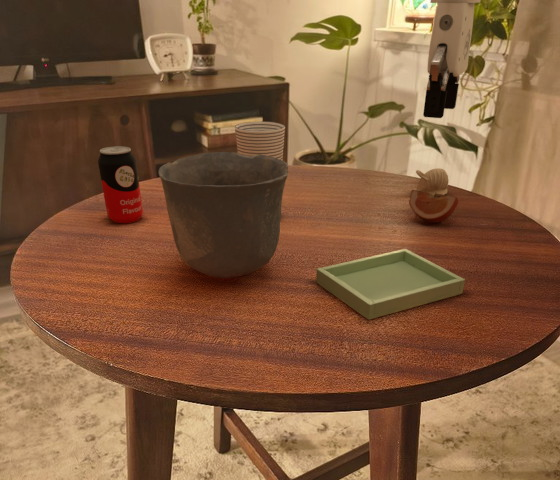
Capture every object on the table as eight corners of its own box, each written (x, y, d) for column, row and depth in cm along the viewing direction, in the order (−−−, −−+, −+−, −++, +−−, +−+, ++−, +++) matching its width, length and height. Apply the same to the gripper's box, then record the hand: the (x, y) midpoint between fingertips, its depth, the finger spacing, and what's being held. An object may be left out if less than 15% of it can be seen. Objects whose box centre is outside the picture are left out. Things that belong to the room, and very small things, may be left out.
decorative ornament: (452, 196, 113) (457, 168, 110) (416, 200, 111) (420, 172, 108) (441, 190, 116) (445, 163, 113) (406, 194, 114) (409, 167, 111)
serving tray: (403, 261, 85) (405, 248, 84) (462, 293, 76) (465, 279, 75) (316, 282, 79) (316, 268, 78) (368, 320, 70) (369, 304, 69)
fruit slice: (401, 220, 101) (404, 192, 98) (417, 210, 105) (421, 183, 103) (444, 230, 97) (449, 201, 94) (460, 219, 101) (465, 191, 98)
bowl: (316, 273, 82) (320, 167, 74) (223, 313, 72) (215, 195, 63) (237, 241, 92) (232, 145, 84) (145, 272, 82) (130, 166, 74)
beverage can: (103, 224, 100) (90, 153, 93) (115, 212, 105) (104, 145, 98) (137, 225, 99) (126, 154, 92) (148, 214, 104) (139, 145, 98)
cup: (292, 214, 104) (293, 123, 95) (271, 228, 98) (270, 132, 89) (252, 207, 107) (250, 119, 99) (229, 220, 101) (224, 128, 92)
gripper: (471, -9, 79) (451, 123, 88) (490, -9, 92) (471, 106, 101) (418, -9, 81) (404, 119, 91) (444, -8, 94) (429, 103, 104)
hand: (439, 112), depth 96 cm, fingers open, 9 cm apart
